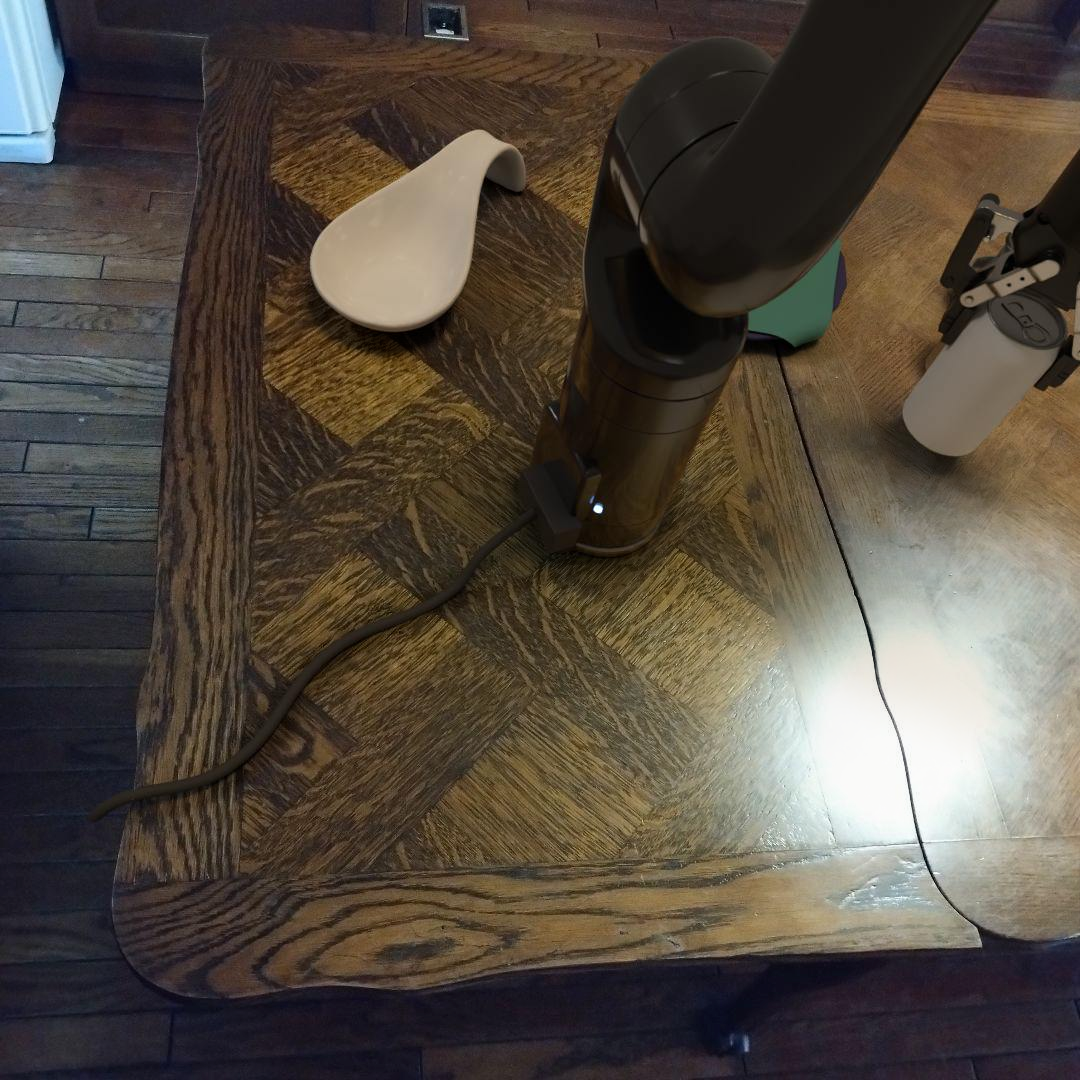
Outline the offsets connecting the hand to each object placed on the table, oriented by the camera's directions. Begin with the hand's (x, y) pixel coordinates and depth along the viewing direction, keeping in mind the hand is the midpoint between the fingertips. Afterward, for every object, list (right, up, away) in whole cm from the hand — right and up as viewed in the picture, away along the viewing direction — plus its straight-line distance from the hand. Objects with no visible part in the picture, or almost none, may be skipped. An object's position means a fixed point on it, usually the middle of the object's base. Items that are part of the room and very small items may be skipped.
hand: (994, 358), depth 70 cm
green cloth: (-15, +15, +19) cm, 28 cm away
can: (-1, -4, +7) cm, 8 cm away
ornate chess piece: (+7, +8, +18) cm, 21 cm away
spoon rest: (-41, +10, +11) cm, 44 cm away
